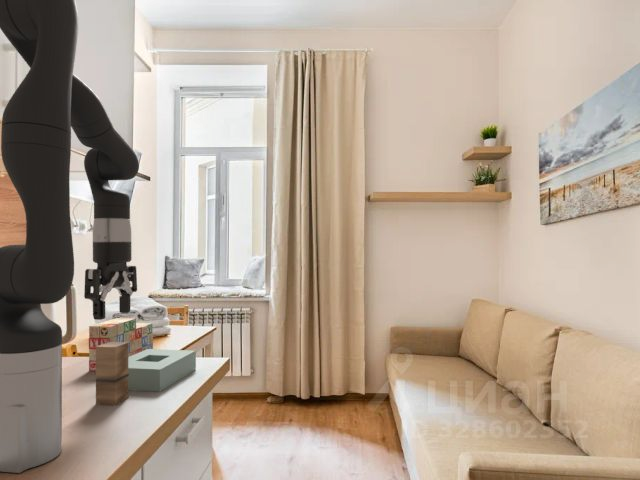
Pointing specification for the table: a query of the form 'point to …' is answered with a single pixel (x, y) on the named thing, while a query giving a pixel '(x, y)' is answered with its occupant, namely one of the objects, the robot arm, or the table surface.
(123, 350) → the walnut peg
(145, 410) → the table surface
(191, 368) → the socket board
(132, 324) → the stack of blocks
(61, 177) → the robot arm
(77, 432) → the table surface
